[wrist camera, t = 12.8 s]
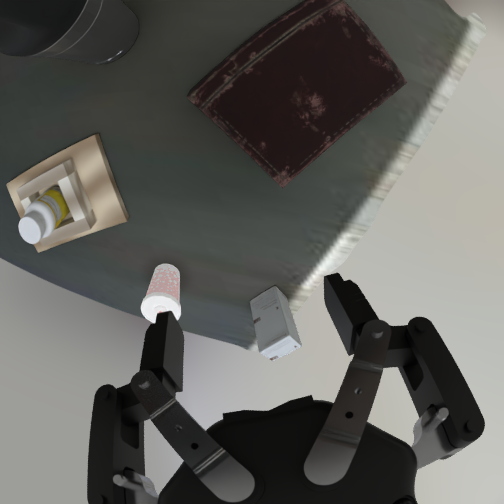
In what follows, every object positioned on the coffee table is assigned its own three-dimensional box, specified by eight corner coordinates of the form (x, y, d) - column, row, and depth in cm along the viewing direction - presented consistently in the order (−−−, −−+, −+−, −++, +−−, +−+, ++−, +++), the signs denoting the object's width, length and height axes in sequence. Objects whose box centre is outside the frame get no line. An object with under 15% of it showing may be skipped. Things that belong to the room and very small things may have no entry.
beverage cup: (145, 262, 44) (128, 323, 33) (179, 257, 45) (171, 318, 33) (155, 290, 48) (144, 351, 36) (187, 285, 48) (184, 348, 36)
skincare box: (274, 284, 50) (290, 334, 40) (287, 297, 53) (304, 345, 43) (248, 301, 52) (257, 352, 42) (261, 313, 54) (273, 362, 44)
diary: (187, 95, 32) (183, 95, 28) (317, -6, 25) (329, -16, 21) (279, 182, 41) (287, 193, 36) (392, 85, 33) (410, 87, 29)
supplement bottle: (52, 218, 36) (23, 250, 27) (42, 187, 33) (9, 215, 24) (77, 212, 36) (49, 246, 28) (68, 180, 33) (36, 207, 25)
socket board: (10, 181, 32) (-4, 191, 28) (98, 133, 32) (86, 138, 28) (41, 248, 39) (31, 262, 36) (129, 217, 39) (121, 230, 36)
